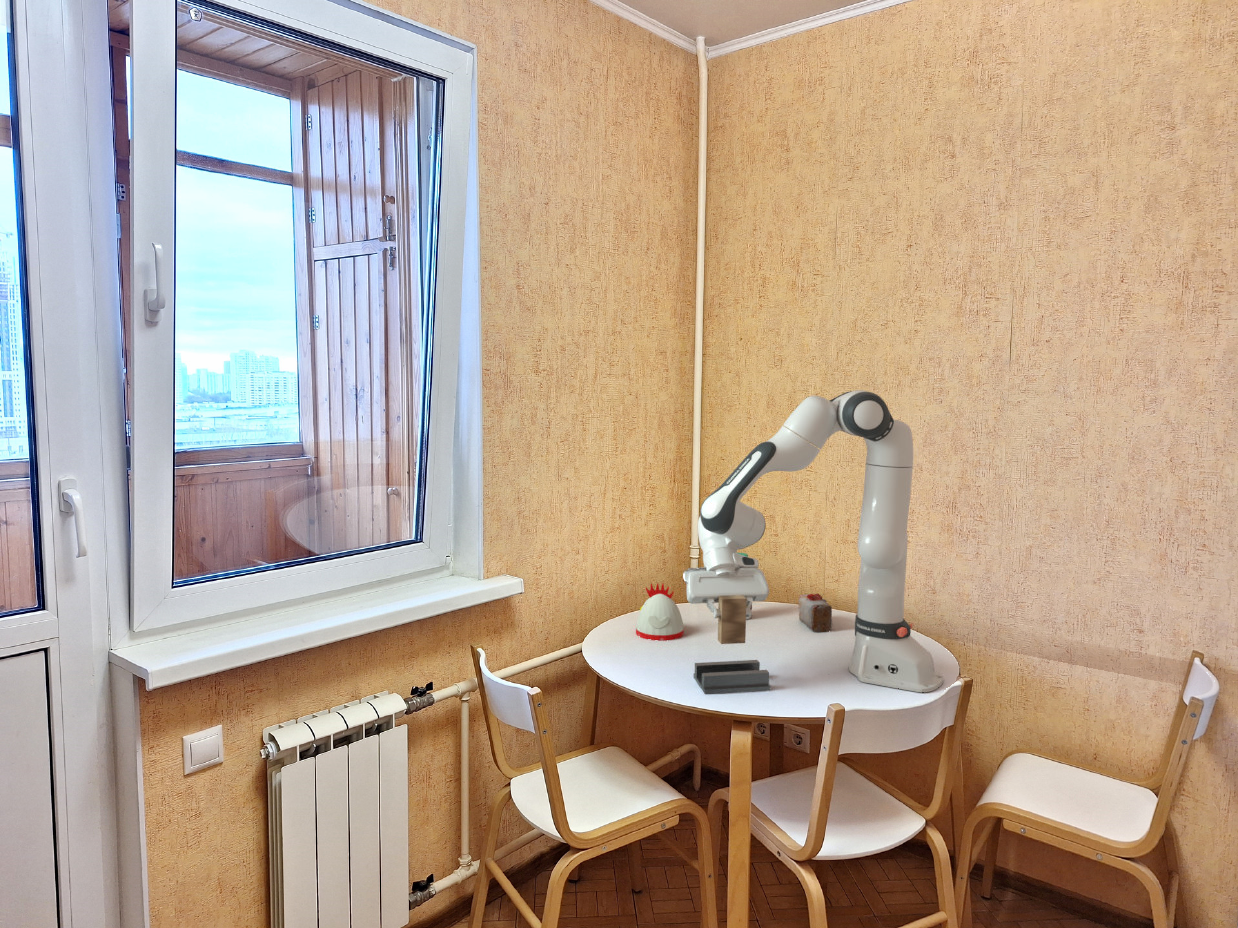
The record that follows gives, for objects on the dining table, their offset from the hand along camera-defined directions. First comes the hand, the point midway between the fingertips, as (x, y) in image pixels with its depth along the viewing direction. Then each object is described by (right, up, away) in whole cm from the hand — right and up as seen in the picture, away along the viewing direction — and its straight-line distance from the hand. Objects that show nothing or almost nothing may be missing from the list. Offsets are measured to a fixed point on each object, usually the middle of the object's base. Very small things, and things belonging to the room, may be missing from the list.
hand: (732, 616), depth 193 cm
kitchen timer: (-15, -13, +41) cm, 46 cm away
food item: (+32, -12, +49) cm, 60 cm away
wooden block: (0, -6, +1) cm, 6 cm away
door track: (0, -17, +2) cm, 17 cm away
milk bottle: (+10, -11, +58) cm, 59 cm away
